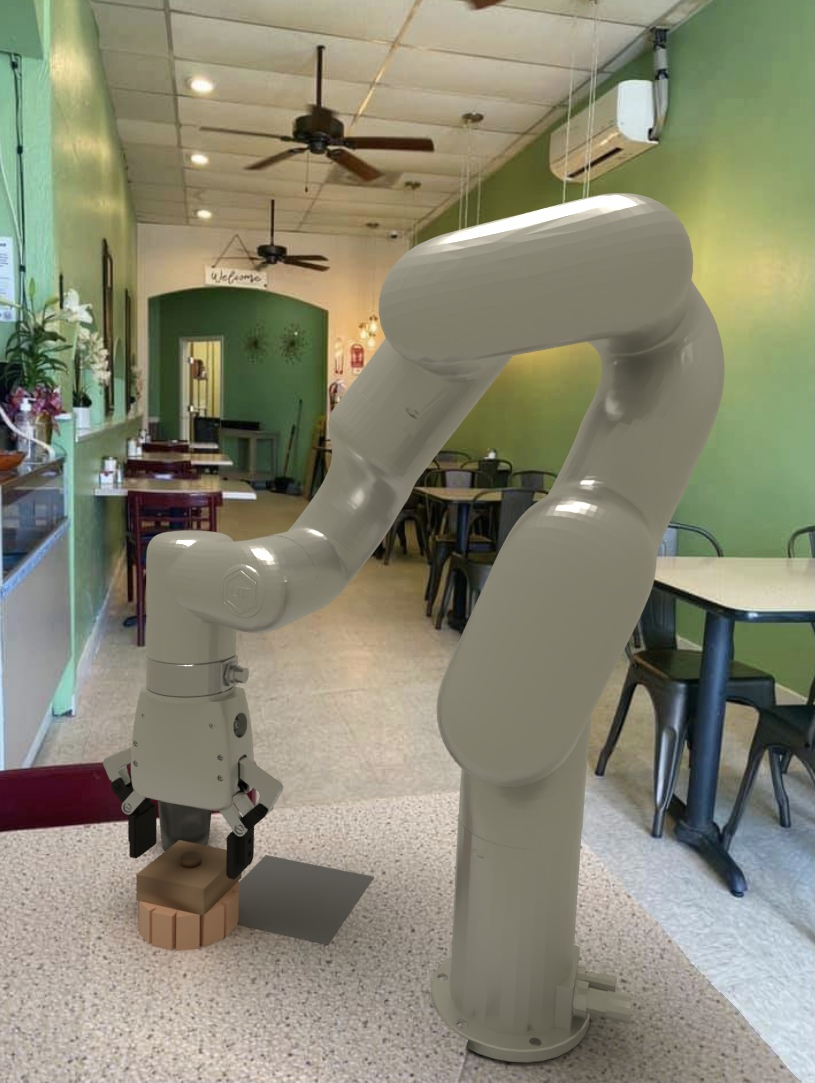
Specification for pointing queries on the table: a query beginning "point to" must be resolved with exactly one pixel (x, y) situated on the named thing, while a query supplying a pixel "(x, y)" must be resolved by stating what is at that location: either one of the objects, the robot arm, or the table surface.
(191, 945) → the bowl
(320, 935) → the mat
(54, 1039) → the table surface
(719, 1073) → the table surface
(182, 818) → the beverage cup
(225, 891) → the lid
